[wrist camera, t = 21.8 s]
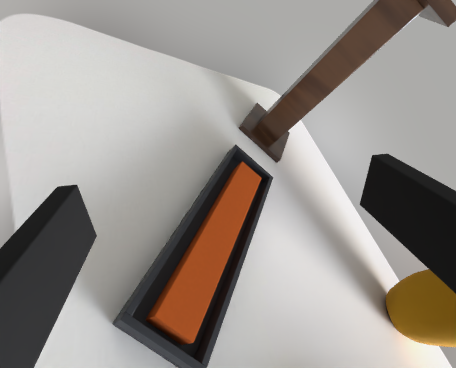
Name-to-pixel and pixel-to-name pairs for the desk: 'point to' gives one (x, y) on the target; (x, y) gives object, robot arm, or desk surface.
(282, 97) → the stand
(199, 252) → the orange long flat bar
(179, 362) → the tray
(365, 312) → the desk surface
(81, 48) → the desk surface
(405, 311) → the apple
